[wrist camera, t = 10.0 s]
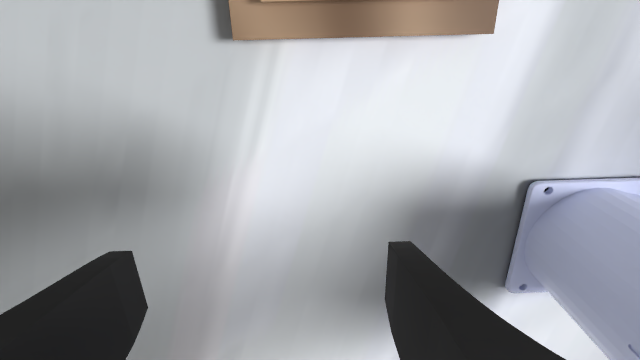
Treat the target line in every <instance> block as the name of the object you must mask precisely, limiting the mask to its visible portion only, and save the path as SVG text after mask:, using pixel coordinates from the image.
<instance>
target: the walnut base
mask: <svg viewBox="0 0 640 360" xmlns="http://www.w3.org/2000/svg"><path fill="white" fill-rule="evenodd" d="M498 3H499V0H229V9H230V18H231V27H232V36H233V40H264V39H303V38H343V37H382V36H422V35H462V34H494V28H495V22H496V16H497V9H498Z"/></svg>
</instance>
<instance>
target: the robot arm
mask: <svg viewBox="0 0 640 360" xmlns="http://www.w3.org/2000/svg"><path fill="white" fill-rule="evenodd" d="M547 187H549V189H548V190H547V191H546V192H544V190H545V189H546V188H547ZM522 284H523V285H522ZM520 285H522V286H520ZM505 287H506V288H507V290H508V291H509V292H511V293H527V292H549V293H550V294H551V296H552V297H553V298H554V299H555V300H556V301H557V302H558V303H559V304H560V305H561V307H562V308H563V309H564V310H565V311H566V312H567V313H568V314H569V315H570V317H571V318H572V319H573V320H574V321H575V322H576V323H577V324H578V325H579V327H580V328H581V329H582V330H583V331H584V332H585V333H586V334H587V335H588V336H589V338H590V339H591V340H592V341H593V342H594V343H595V344H596V345H597V346H598V348H599V349H600V350H601V351H602V352H603V353H604V354H605V355H606V356H607V358H608V359H609V360H640V178H612V179H581V180H550V181H535V182H533V183H532V184H531V185H530V186H529V188H528V191H527V195H526V199H525V204H524V208H523V212H522V216H521V220H520V225H519V229H518V233H517V237H516V242H515V246H514V250H513V254H512V258H511V263H510V267H509V271H508V275H507V279H506V284H505ZM385 302H386V307H387V312H388V318H389V322H390V327H391V332H392V335H393V339H394V342H395V345H396V348H397V351H398V354H399V357H400V360H566V359H564V358H562V357H560V356H559V355H557V354H555V353H554V352H552V351H551V350H549V349H547V348H546V347H544V346H542V345H541V344H539V343H538V342H536V341H535V340H533V339H532V338H530V337H529V336H527V335H526V334H524V333H523V332H521V331H520V330H518V329H517V328H515V327H514V326H512V325H511V324H509V323H508V322H506V321H505V320H504V319H502V318H501V317H499V316H498V315H497V314H495V313H494V312H493V311H491V310H490V309H489V308H487V307H486V306H485V305H483V304H482V303H481V302H480V301H478V300H477V299H476V298H474V297H473V296H472V295H471V294H469V293H468V292H467V291H466V290H464V289H463V288H462V287H461V286H460V285H458V284H457V283H456V282H455V281H454V280H453V279H451V278H450V277H449V276H448V275H447V274H446V273H445V272H443V271H442V270H441V269H440V268H439V267H438V266H437V265H436V264H435V263H433V262H432V261H431V260H430V259H429V258H428V257H427V256H426V255H425V254H424V253H423V252H422V251H420V250H419V249H418V248H417V247H416V246H415V245H414V244H413V243H412V242H410V241H403V242H389V245H388V260H387V275H386V290H385ZM147 309H148V306H147V303H146V299H145V295H144V292H143V288H142V285H141V281H140V278H139V274H138V271H137V267H136V264H135V260H134V257H133V253H132V251H113V252H108V253H106V254H104V255H102V256H100V257H98V258H96V259H95V260H93V261H91V262H89V263H88V264H86V265H84V266H82V267H81V268H79V269H77V270H76V271H74V272H72V273H71V274H69V275H67V276H66V277H64V278H62V279H61V280H59V281H57V282H56V283H54V284H52V285H51V286H49V287H47V288H46V289H44V290H42V291H41V292H39V293H37V294H36V295H34V296H32V297H31V298H29V299H27V300H26V301H24V302H22V303H20V304H19V305H17V306H15V307H13V308H11V309H10V310H8V311H6V312H4V313H3V314H1V315H0V360H125V359H126V357H127V356H128V354H129V352H130V350H131V348H132V346H133V344H134V342H135V340H136V337H137V335H138V333H139V330H140V328H141V325H142V322H143V320H144V317H145V314H146V312H147Z"/></svg>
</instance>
